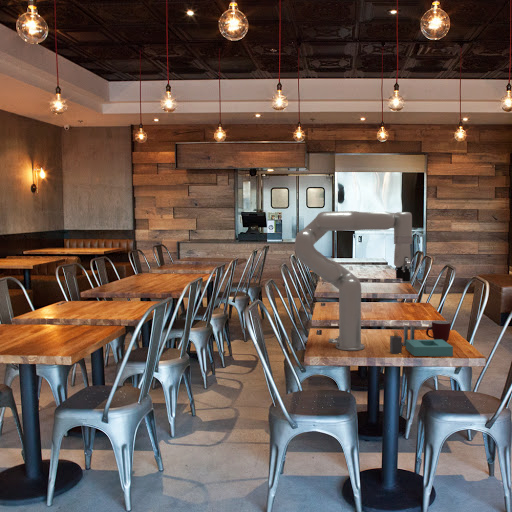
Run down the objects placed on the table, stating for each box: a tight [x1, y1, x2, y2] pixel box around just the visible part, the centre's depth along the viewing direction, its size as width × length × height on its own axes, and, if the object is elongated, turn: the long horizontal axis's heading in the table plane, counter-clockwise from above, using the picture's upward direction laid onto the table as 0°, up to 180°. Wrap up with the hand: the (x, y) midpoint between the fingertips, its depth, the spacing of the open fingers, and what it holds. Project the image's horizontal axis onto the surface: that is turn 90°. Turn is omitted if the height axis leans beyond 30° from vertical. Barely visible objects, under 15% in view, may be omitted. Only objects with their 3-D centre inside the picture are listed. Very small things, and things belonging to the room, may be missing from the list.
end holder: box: [405, 339, 454, 357], centre depth 248 cm, size 16×14×4 cm
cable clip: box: [402, 324, 415, 347], centre depth 260 cm, size 6×4×9 cm, turn 90°
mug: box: [425, 320, 452, 343], centre depth 263 cm, size 10×8×10 cm
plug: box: [389, 330, 403, 355], centre depth 247 cm, size 4×4×9 cm
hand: (402, 280), depth 252 cm, fingers open, 9 cm apart
